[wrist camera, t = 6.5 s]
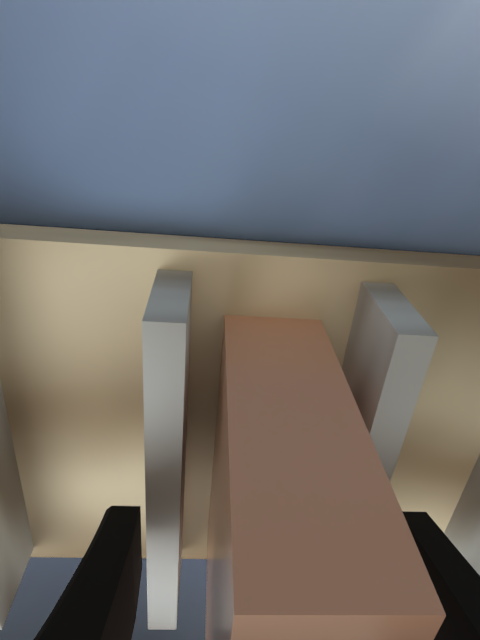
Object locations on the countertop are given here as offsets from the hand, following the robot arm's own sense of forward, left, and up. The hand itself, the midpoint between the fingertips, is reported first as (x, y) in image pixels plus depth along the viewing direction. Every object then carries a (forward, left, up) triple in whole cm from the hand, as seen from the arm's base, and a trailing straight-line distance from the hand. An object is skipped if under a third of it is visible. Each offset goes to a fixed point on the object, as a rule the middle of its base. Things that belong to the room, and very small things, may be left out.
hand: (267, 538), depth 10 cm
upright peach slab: (0, 0, -3) cm, 3 cm away
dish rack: (0, 0, -4) cm, 4 cm away
